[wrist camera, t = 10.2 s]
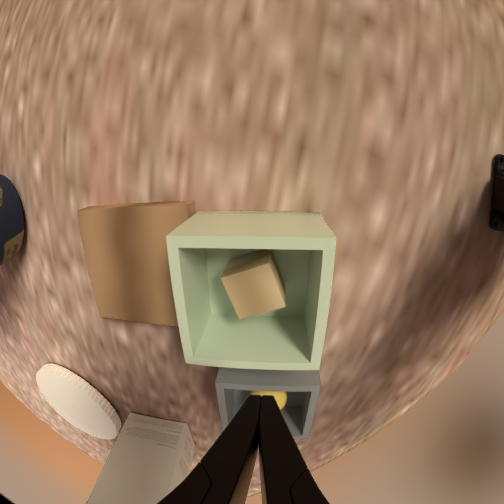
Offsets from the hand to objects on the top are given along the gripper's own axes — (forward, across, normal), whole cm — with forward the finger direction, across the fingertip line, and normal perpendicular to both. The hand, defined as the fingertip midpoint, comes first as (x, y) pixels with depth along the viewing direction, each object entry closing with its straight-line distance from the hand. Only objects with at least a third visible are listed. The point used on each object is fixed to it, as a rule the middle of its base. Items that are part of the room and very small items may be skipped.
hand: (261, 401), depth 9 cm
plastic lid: (+13, +26, +21) cm, 36 cm away
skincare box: (+12, +13, +23) cm, 29 cm away
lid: (+12, +10, 0) cm, 16 cm away
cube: (+11, +1, 0) cm, 11 cm away
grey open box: (+12, 0, +11) cm, 16 cm away
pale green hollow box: (+12, +1, 0) cm, 12 cm away
